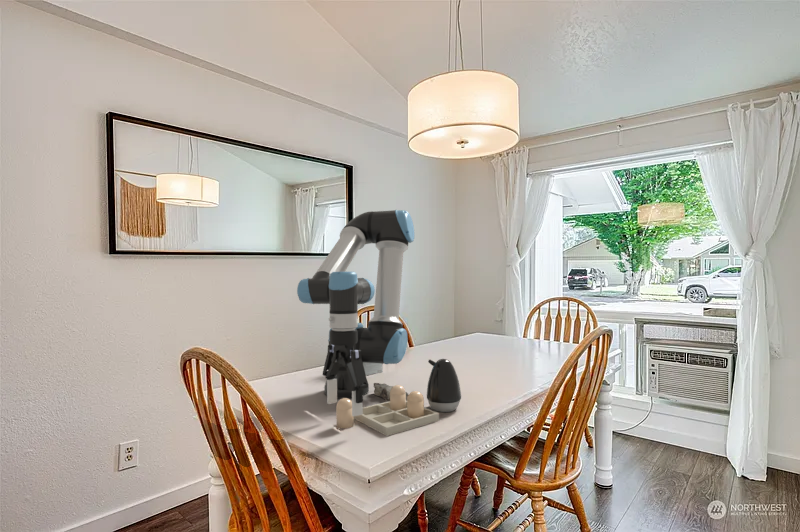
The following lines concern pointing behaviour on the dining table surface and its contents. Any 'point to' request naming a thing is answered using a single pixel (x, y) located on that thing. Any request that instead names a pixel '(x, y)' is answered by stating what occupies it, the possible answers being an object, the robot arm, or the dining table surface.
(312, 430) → the dining table surface
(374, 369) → the supplement box
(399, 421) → the egg tray
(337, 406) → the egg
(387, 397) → the mineral rock
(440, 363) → the pump dispenser
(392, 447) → the dining table surface
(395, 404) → the beige domed cylinder
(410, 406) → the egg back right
